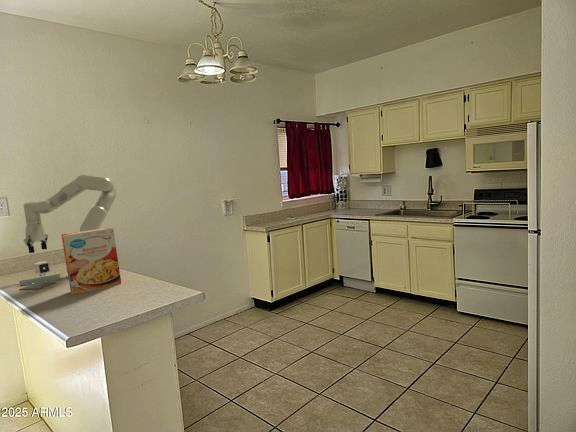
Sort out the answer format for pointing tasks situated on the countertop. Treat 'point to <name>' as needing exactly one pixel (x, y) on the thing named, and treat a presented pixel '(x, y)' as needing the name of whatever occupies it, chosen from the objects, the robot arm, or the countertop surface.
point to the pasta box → (91, 260)
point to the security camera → (42, 268)
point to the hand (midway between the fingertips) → (38, 251)
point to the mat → (37, 285)
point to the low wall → (40, 279)
